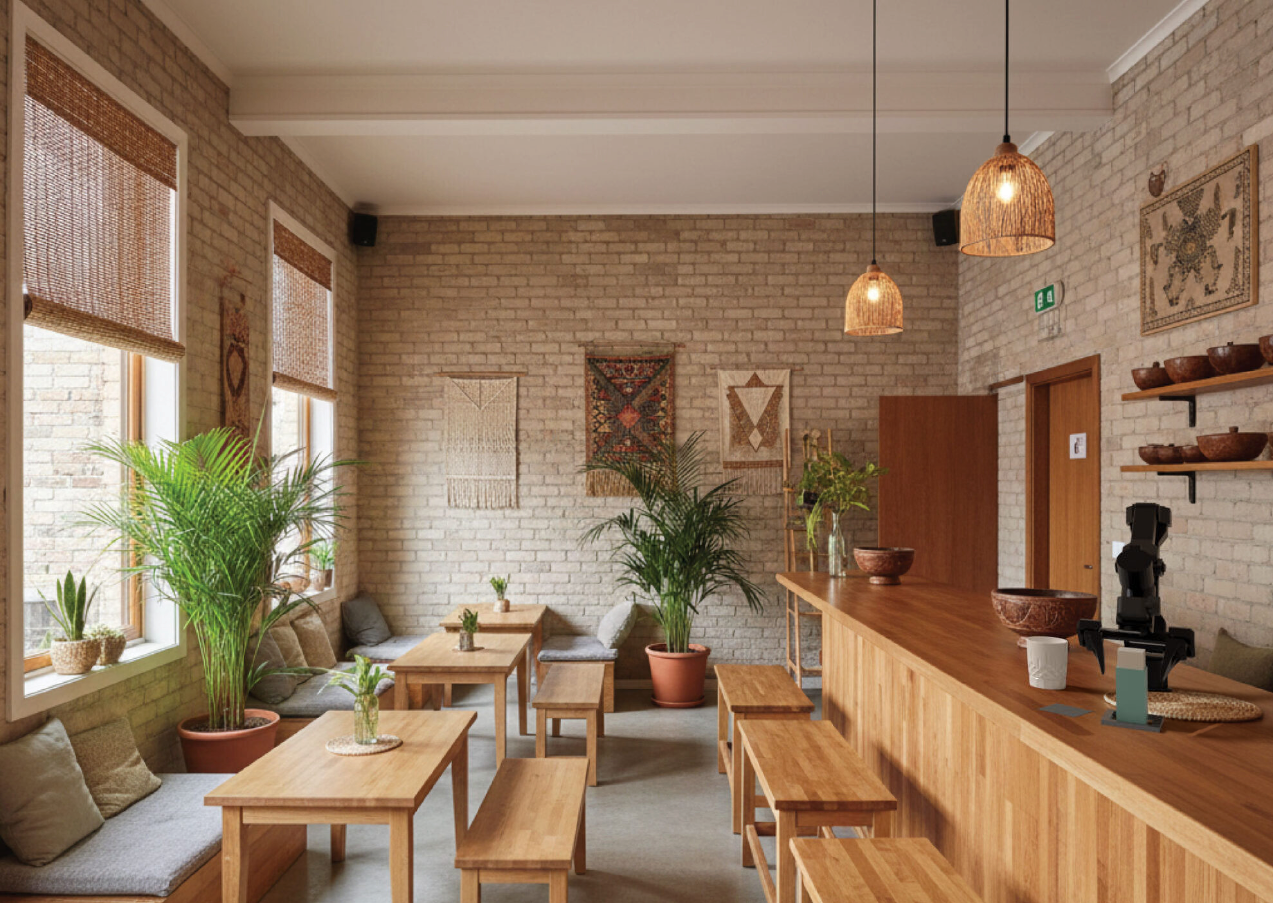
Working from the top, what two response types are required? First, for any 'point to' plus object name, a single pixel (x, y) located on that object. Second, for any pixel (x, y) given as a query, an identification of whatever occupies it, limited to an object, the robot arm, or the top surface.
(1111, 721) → the socket
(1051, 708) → the pad
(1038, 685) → the white cup
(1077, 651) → the top surface
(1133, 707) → the peg
